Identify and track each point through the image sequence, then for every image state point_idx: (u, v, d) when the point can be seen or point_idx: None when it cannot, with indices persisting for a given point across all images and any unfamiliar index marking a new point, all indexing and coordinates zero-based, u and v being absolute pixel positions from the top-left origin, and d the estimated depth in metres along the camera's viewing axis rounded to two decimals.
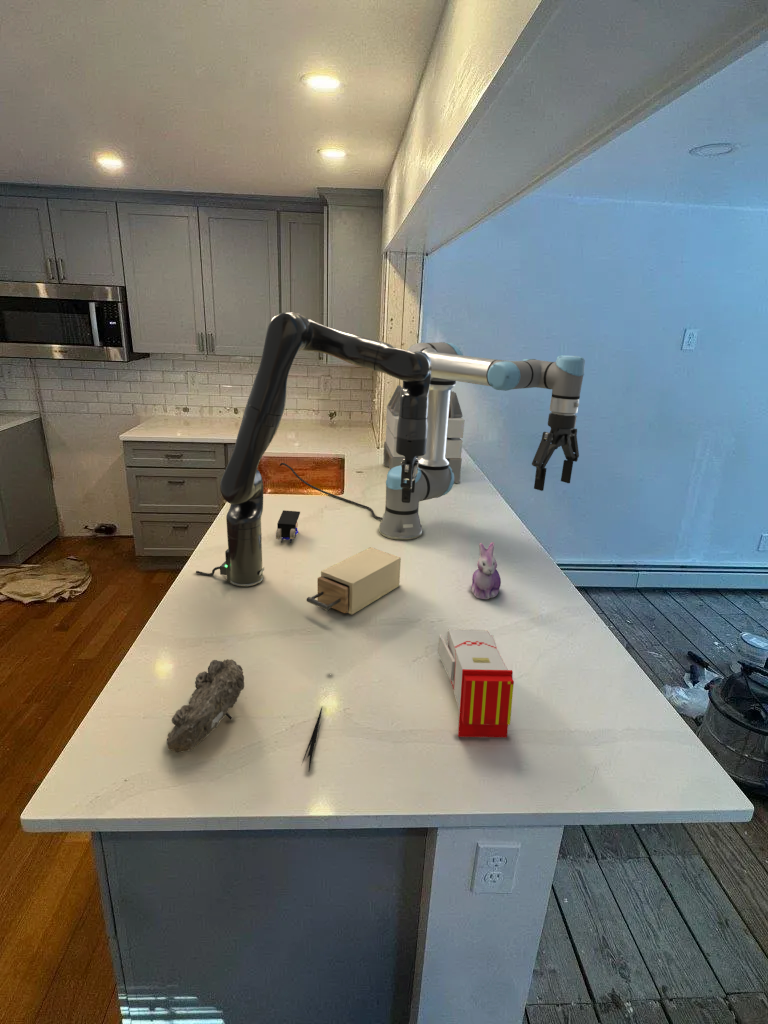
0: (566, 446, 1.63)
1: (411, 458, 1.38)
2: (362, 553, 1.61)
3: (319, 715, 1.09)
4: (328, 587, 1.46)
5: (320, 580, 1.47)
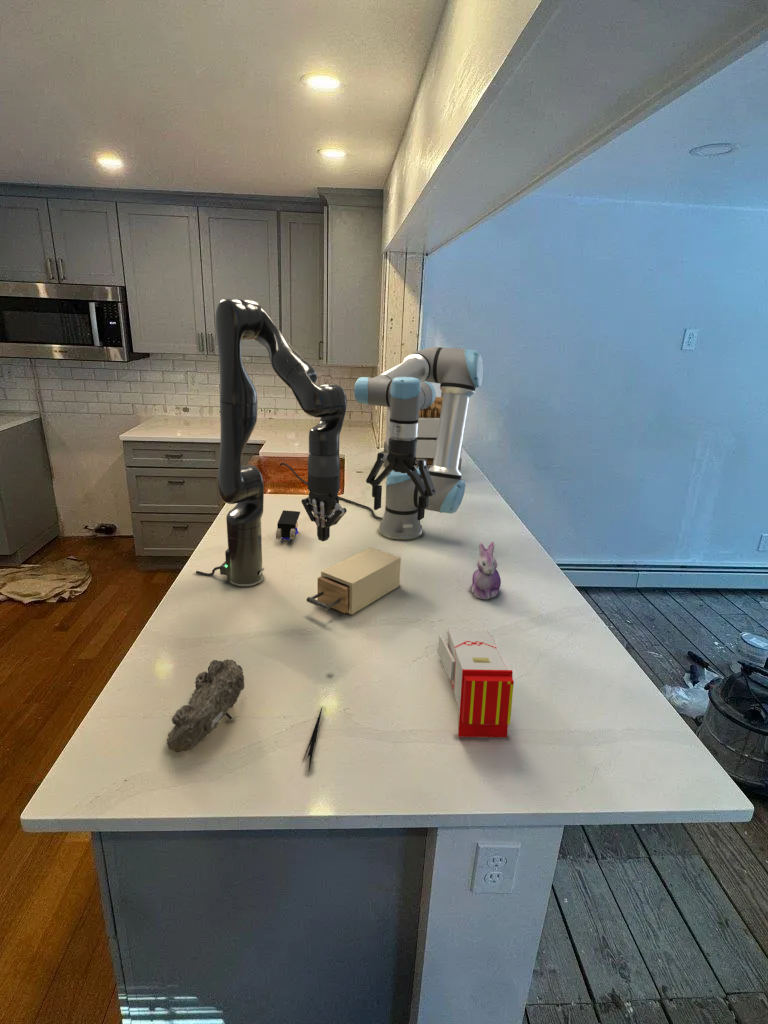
0: None
1: (337, 494, 1.32)
2: (362, 553, 1.61)
3: (319, 715, 1.09)
4: (328, 587, 1.46)
5: (320, 580, 1.47)
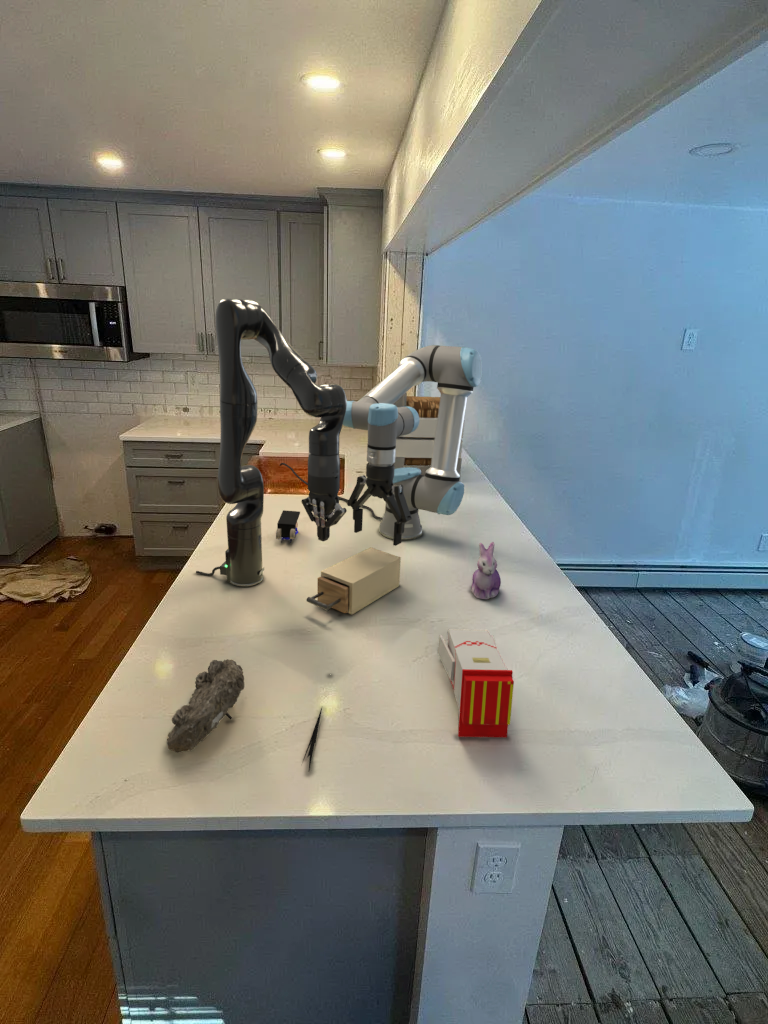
0: None
1: (337, 494, 1.32)
2: (362, 553, 1.61)
3: (319, 715, 1.09)
4: (328, 587, 1.46)
5: (320, 580, 1.47)
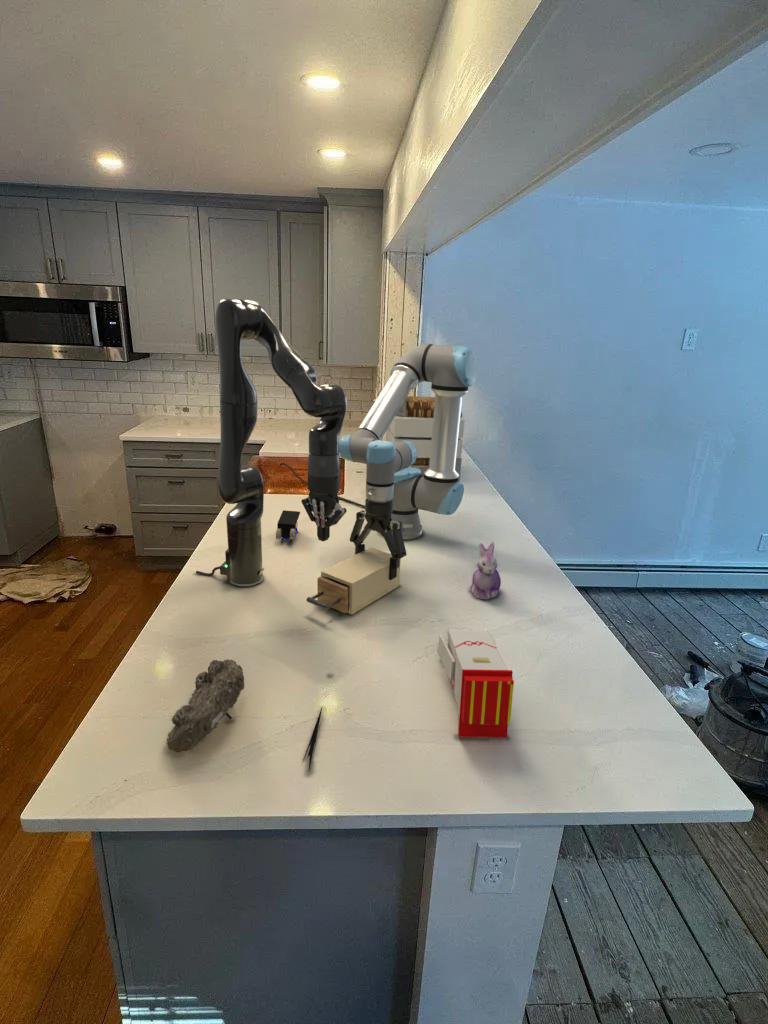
0: None
1: (337, 494, 1.32)
2: (362, 553, 1.61)
3: (319, 715, 1.09)
4: (328, 587, 1.46)
5: (320, 580, 1.47)
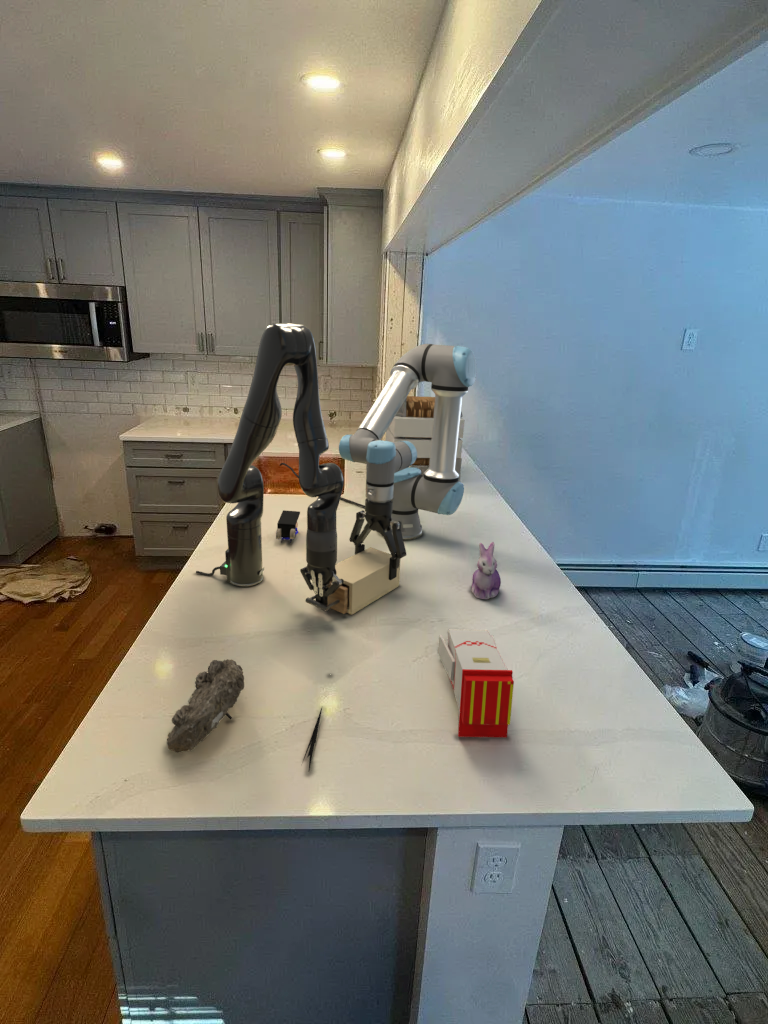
0: None
1: (334, 566, 1.38)
2: (362, 553, 1.61)
3: (319, 715, 1.09)
4: None
5: None
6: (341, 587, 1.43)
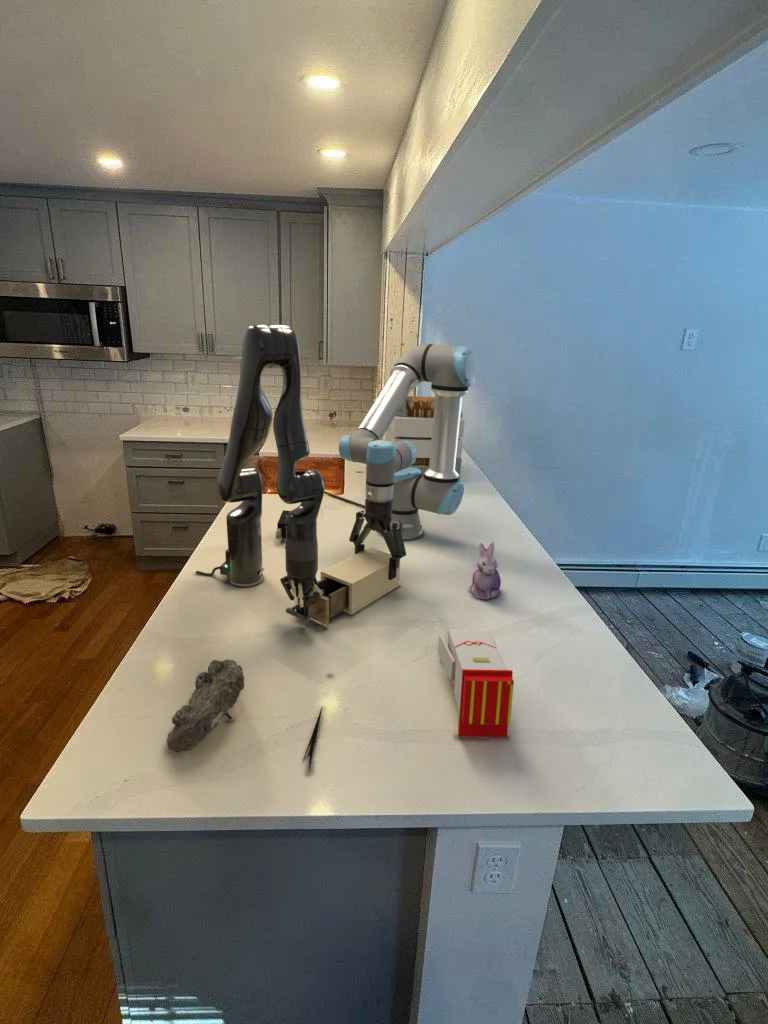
0: None
1: (315, 576, 1.33)
2: (362, 553, 1.61)
3: (319, 715, 1.09)
4: None
5: None
6: (323, 597, 1.38)
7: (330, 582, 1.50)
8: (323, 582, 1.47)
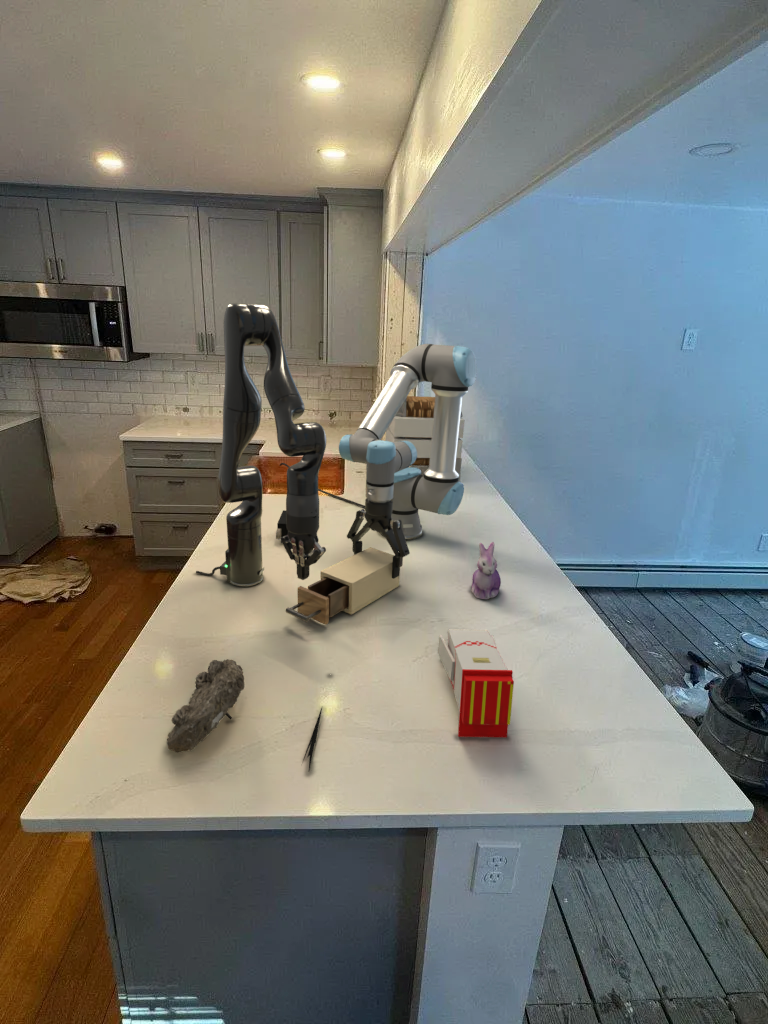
0: None
1: (316, 533, 1.30)
2: (362, 553, 1.61)
3: (319, 715, 1.09)
4: (308, 597, 1.40)
5: (300, 590, 1.42)
6: (322, 597, 1.38)
7: (330, 582, 1.50)
8: (323, 582, 1.47)
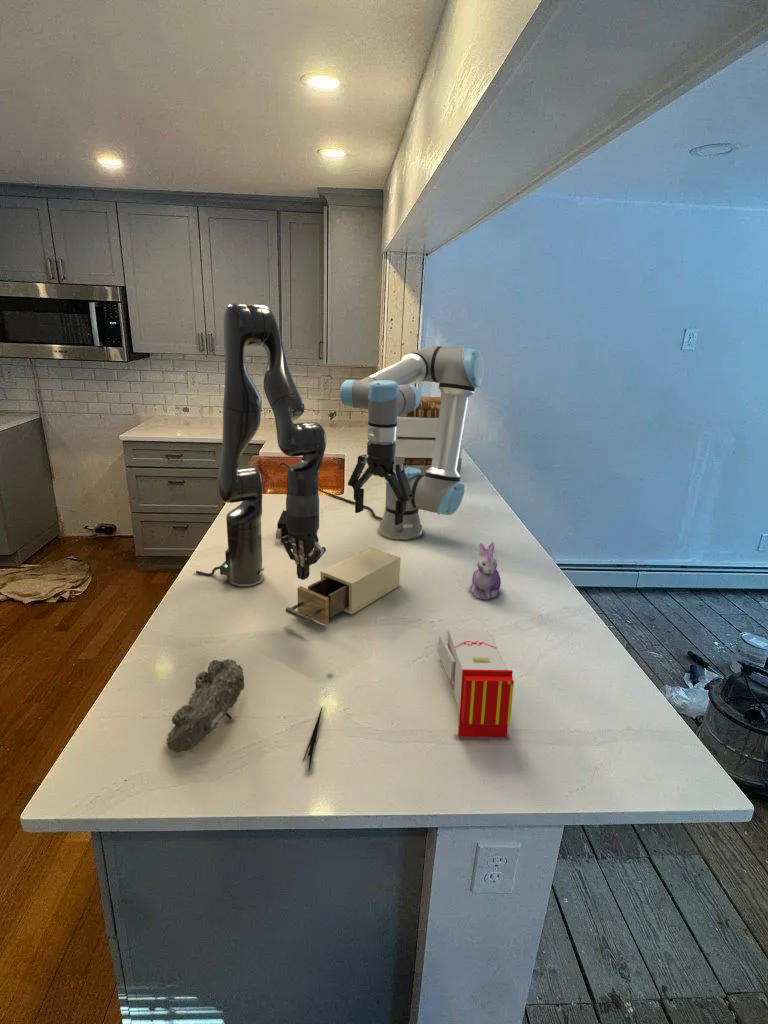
0: None
1: (316, 533, 1.30)
2: (362, 553, 1.61)
3: (319, 715, 1.09)
4: (308, 597, 1.40)
5: (300, 590, 1.42)
6: (322, 597, 1.38)
7: (330, 582, 1.50)
8: (323, 582, 1.47)
